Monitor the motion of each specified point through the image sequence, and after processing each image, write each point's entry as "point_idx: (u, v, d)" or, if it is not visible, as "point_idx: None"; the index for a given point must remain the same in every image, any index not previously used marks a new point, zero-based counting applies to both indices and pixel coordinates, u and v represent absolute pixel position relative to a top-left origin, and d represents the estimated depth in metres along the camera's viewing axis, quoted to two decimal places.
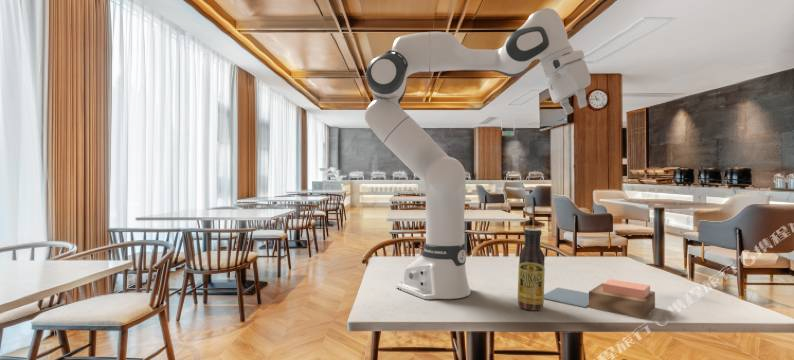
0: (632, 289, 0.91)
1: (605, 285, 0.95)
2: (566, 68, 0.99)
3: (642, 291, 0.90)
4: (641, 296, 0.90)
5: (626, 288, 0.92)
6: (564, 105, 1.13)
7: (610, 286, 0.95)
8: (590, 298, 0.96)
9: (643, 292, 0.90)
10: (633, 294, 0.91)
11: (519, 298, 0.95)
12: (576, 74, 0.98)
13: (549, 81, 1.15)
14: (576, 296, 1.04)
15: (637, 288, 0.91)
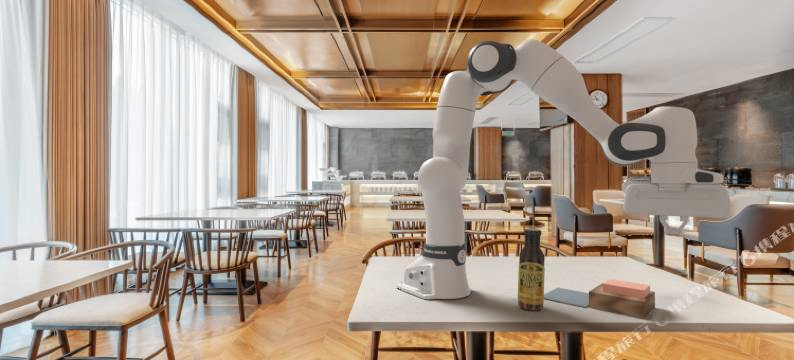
0: (632, 289, 0.91)
1: (605, 285, 0.95)
2: (721, 189, 0.80)
3: (642, 291, 0.90)
4: (641, 296, 0.90)
5: (626, 288, 0.92)
6: (665, 223, 0.89)
7: (610, 286, 0.95)
8: (590, 298, 0.96)
9: (643, 292, 0.90)
10: (633, 294, 0.91)
11: (519, 298, 0.95)
12: (729, 201, 0.80)
13: (639, 187, 0.91)
14: (576, 296, 1.04)
15: (637, 288, 0.91)
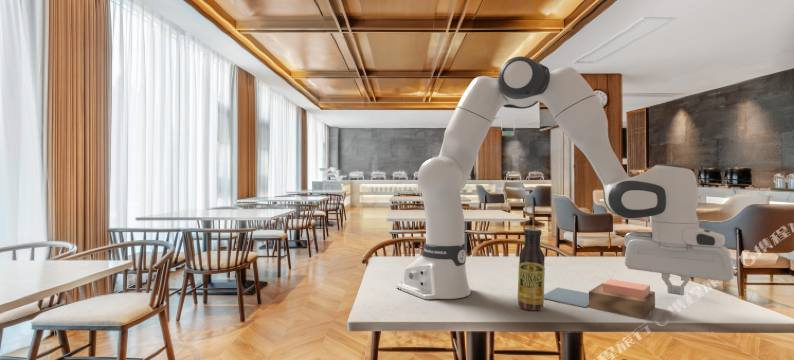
0: (632, 289, 0.91)
1: (605, 285, 0.95)
2: (723, 252, 0.80)
3: (642, 291, 0.90)
4: (641, 296, 0.90)
5: (626, 288, 0.92)
6: (667, 280, 0.89)
7: (610, 286, 0.95)
8: (590, 298, 0.96)
9: (643, 292, 0.90)
10: (633, 294, 0.91)
11: (519, 298, 0.95)
12: (731, 265, 0.80)
13: (640, 243, 0.91)
14: (576, 296, 1.04)
15: (637, 288, 0.91)
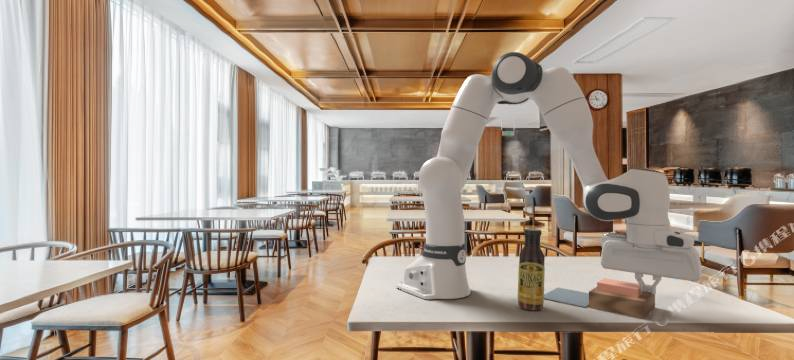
0: (626, 288, 0.92)
1: (599, 284, 0.96)
2: (691, 253, 0.84)
3: (635, 290, 0.91)
4: (634, 295, 0.91)
5: (620, 287, 0.93)
6: (640, 280, 0.92)
7: (604, 285, 0.96)
8: (590, 298, 0.96)
9: (636, 291, 0.91)
10: (627, 293, 0.92)
11: (519, 298, 0.95)
12: (699, 265, 0.84)
13: (615, 243, 0.95)
14: (576, 296, 1.04)
15: (631, 287, 0.92)
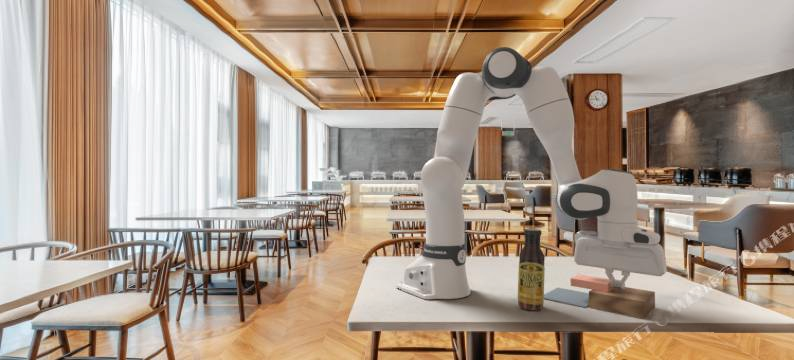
0: (597, 283, 0.97)
1: (573, 280, 1.01)
2: (655, 250, 0.88)
3: (605, 285, 0.95)
4: (605, 290, 0.95)
5: (591, 282, 0.98)
6: (610, 275, 0.97)
7: (577, 281, 1.00)
8: (590, 298, 0.96)
9: (606, 286, 0.95)
10: (597, 288, 0.97)
11: (519, 298, 0.95)
12: (663, 261, 0.88)
13: (587, 241, 0.99)
14: (576, 296, 1.04)
15: (601, 282, 0.97)
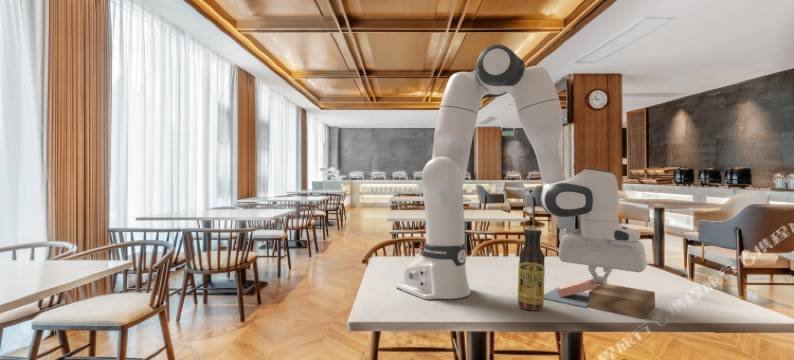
0: (580, 285, 1.00)
1: (559, 290, 1.03)
2: (635, 247, 0.91)
3: (587, 283, 0.98)
4: (589, 288, 0.98)
5: (575, 286, 1.01)
6: (593, 272, 1.00)
7: (563, 290, 1.03)
8: (590, 298, 0.96)
9: (588, 284, 0.98)
10: (582, 289, 0.99)
11: (519, 298, 0.95)
12: (642, 258, 0.91)
13: (571, 238, 1.02)
14: (576, 296, 1.04)
15: (584, 282, 1.00)
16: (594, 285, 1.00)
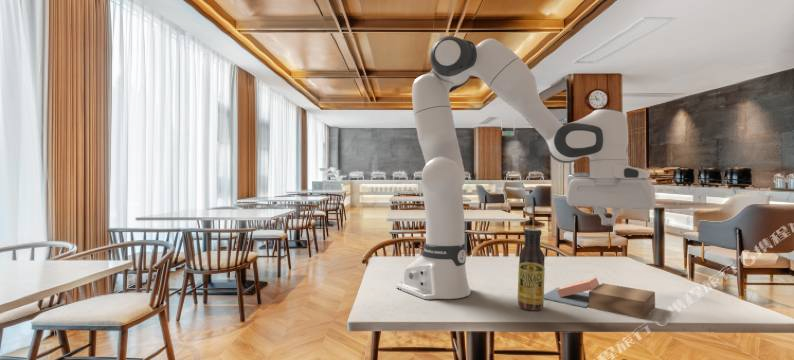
0: (580, 285, 1.00)
1: (559, 290, 1.03)
2: (645, 183, 0.91)
3: (587, 283, 0.98)
4: (589, 288, 0.98)
5: (575, 286, 1.01)
6: (601, 214, 0.99)
7: (563, 290, 1.03)
8: (590, 298, 0.96)
9: (589, 284, 0.98)
10: (582, 289, 0.99)
11: (519, 298, 0.95)
12: (652, 194, 0.91)
13: (579, 181, 1.02)
14: (576, 296, 1.04)
15: (584, 282, 1.00)
16: (594, 285, 1.00)
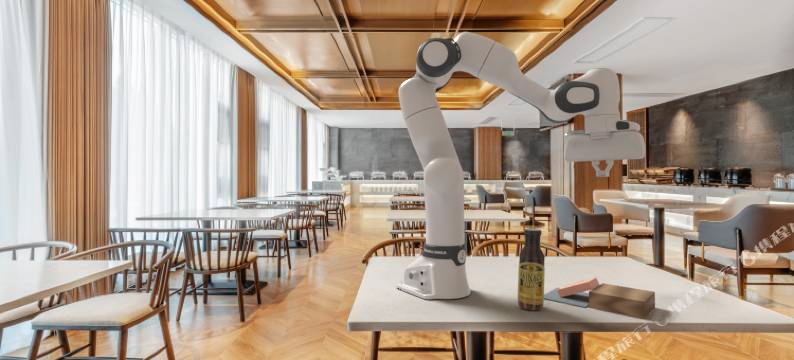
0: (580, 285, 1.00)
1: (559, 290, 1.03)
2: (635, 134, 0.99)
3: (587, 283, 0.98)
4: (589, 288, 0.98)
5: (575, 286, 1.01)
6: (596, 166, 1.07)
7: (563, 290, 1.03)
8: (590, 298, 0.96)
9: (589, 284, 0.98)
10: (582, 289, 0.99)
11: (519, 298, 0.95)
12: (642, 144, 0.99)
13: (575, 138, 1.10)
14: (576, 296, 1.04)
15: (584, 282, 1.00)
16: (594, 285, 1.00)
